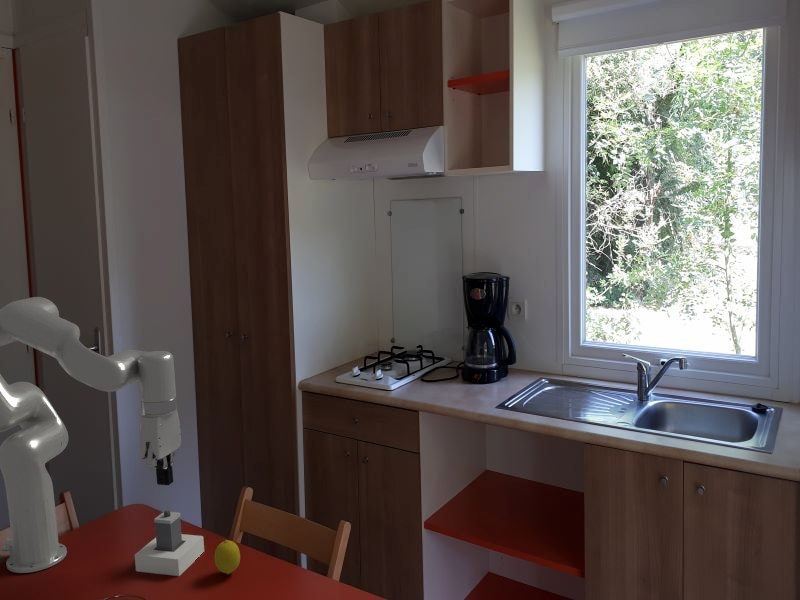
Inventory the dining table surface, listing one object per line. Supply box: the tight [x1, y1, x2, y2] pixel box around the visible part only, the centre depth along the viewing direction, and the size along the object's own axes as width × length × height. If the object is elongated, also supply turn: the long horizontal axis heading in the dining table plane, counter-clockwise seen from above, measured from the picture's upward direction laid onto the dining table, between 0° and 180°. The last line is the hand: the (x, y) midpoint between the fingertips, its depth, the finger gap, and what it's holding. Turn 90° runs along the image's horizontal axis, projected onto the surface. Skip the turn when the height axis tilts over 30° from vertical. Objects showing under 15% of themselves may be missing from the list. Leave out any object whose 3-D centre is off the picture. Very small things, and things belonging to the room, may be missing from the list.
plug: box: [153, 510, 182, 552], centre depth 158 cm, size 4×4×11 cm
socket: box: [134, 533, 205, 577], centre depth 159 cm, size 11×11×4 cm
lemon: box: [214, 539, 241, 575], centre depth 153 cm, size 6×6×8 cm
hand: (165, 483), depth 157 cm, fingers closed
